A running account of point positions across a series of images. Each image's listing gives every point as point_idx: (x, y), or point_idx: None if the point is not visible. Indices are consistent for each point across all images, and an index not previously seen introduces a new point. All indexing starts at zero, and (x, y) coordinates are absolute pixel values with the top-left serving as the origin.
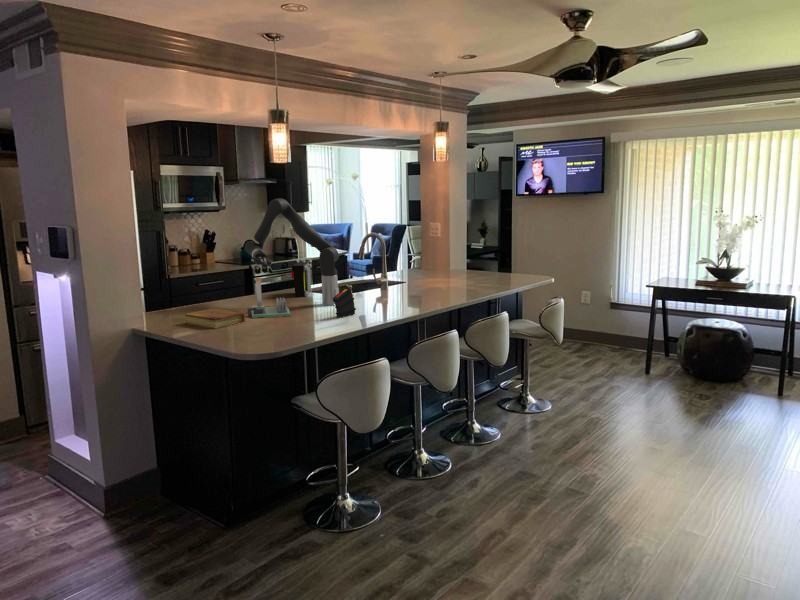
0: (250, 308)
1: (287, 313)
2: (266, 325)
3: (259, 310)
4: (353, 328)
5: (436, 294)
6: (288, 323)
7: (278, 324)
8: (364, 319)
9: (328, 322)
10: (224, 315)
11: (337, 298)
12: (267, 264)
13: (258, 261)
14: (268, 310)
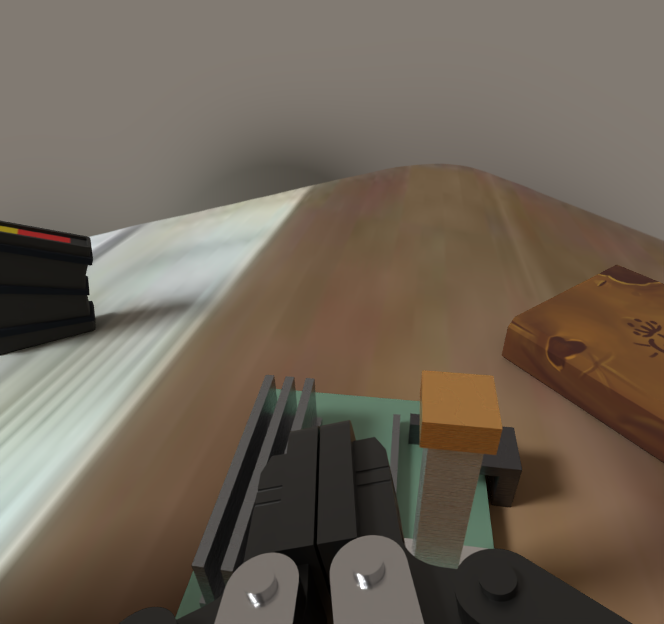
0: None
1: (277, 393)
2: (406, 298)
3: None
4: (169, 225)
5: None
6: (320, 301)
7: (360, 299)
8: None
9: (183, 280)
10: (596, 296)
11: (83, 237)
12: (262, 475)
13: (523, 583)
14: None
